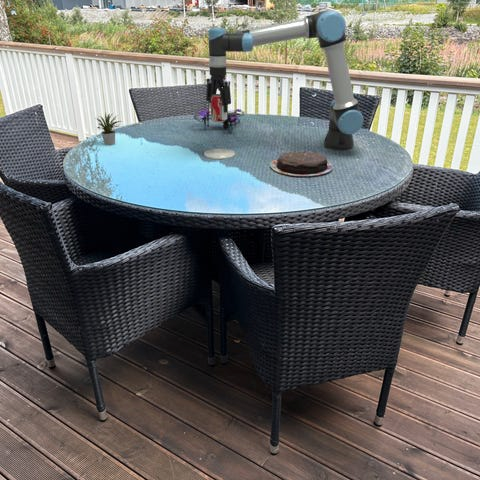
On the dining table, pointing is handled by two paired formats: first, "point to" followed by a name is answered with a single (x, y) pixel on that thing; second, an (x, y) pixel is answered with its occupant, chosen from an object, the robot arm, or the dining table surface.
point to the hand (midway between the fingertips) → (218, 117)
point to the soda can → (216, 108)
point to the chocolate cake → (301, 164)
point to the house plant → (108, 129)
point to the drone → (230, 118)
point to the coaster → (219, 154)
